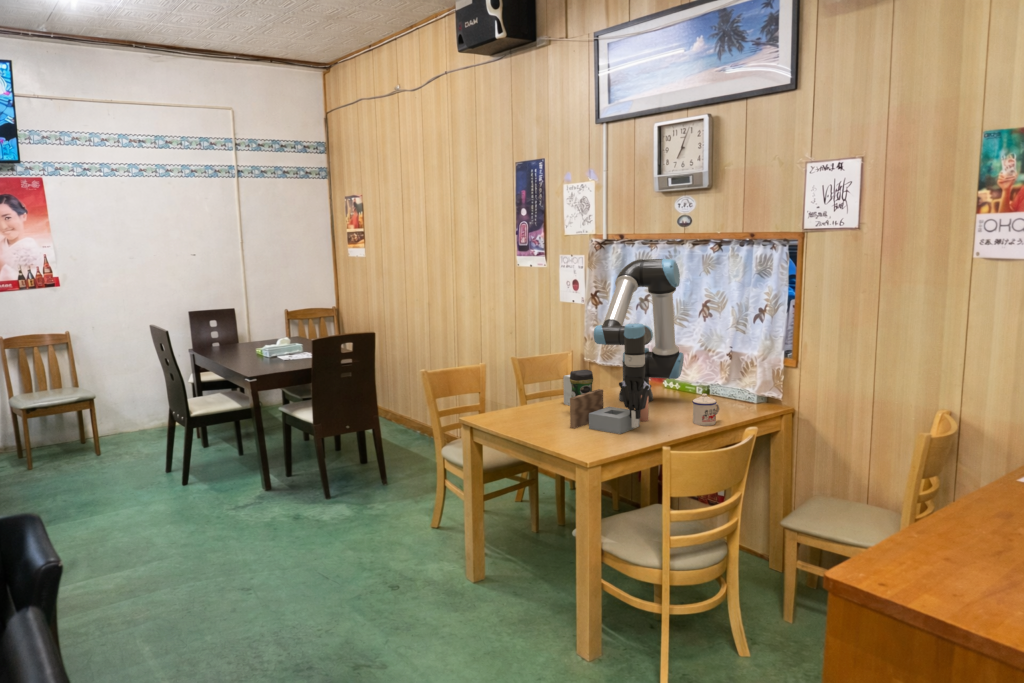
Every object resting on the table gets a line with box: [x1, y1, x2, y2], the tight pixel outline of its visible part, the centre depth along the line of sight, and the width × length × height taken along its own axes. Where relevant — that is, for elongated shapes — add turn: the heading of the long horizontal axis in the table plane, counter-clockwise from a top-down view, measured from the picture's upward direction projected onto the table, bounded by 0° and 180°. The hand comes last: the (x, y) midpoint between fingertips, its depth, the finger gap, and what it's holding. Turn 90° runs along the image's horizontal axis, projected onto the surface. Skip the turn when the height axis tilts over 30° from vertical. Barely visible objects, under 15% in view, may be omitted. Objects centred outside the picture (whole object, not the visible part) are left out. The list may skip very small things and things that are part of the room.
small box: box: [562, 374, 572, 407], centre depth 319 cm, size 8×6×13 cm
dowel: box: [640, 395, 649, 423], centre depth 287 cm, size 4×4×10 cm
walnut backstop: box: [569, 388, 604, 429], centre depth 285 cm, size 20×2×12 cm, turn 139°
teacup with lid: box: [692, 393, 720, 427], centre depth 280 cm, size 12×9×12 cm
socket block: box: [588, 406, 641, 435], centre depth 277 cm, size 14×14×6 cm
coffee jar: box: [569, 369, 594, 398], centre depth 300 cm, size 10×8×19 cm
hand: (635, 426), depth 271 cm, fingers closed
